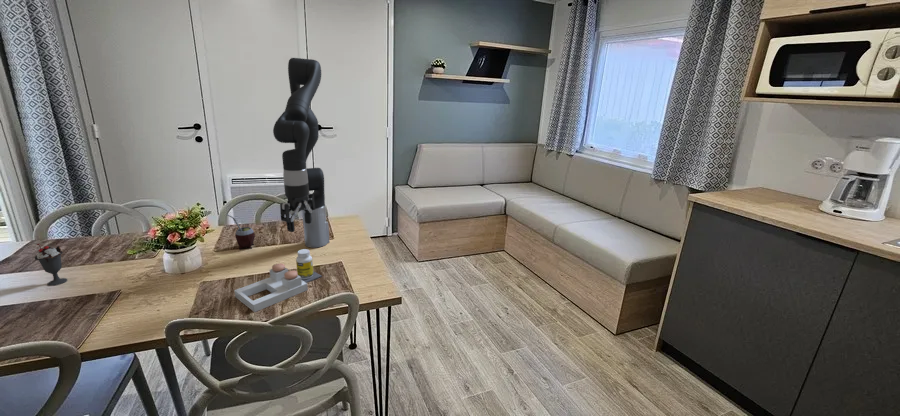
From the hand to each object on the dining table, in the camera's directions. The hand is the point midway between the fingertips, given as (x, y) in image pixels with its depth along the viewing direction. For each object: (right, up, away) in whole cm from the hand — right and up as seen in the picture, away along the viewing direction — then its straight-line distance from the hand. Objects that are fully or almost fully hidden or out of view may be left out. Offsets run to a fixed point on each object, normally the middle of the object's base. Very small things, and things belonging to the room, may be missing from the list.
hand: (300, 227), depth 134 cm
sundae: (-81, -19, -3) cm, 83 cm away
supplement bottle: (0, -18, +6) cm, 19 cm away
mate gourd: (-34, -10, +29) cm, 46 cm away
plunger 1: (-7, -17, 0) cm, 18 cm away
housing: (-7, -22, -5) cm, 24 cm away
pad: (0, -18, +6) cm, 19 cm away
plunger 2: (-1, -19, -5) cm, 19 cm away
